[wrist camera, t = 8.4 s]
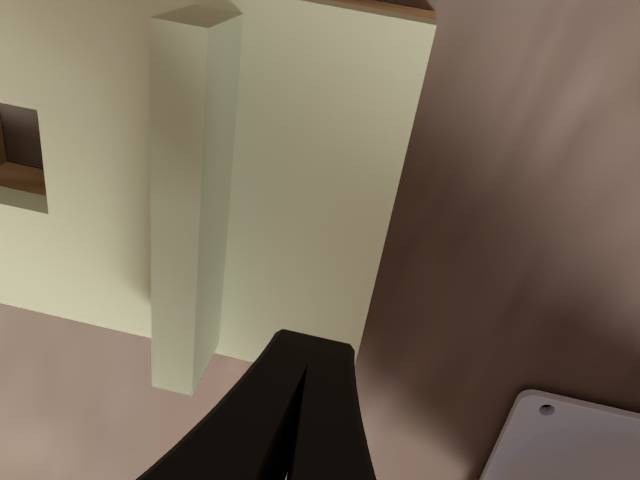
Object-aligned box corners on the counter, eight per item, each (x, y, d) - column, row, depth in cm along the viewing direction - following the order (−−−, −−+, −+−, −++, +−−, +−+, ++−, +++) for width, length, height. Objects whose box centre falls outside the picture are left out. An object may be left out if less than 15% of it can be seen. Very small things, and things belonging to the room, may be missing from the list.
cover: (436, 19, 13) (438, 43, 10) (353, 363, 19) (340, 444, 16) (-106, -80, 14) (-245, -84, 11) (-33, 274, 20) (-114, 334, 17)
